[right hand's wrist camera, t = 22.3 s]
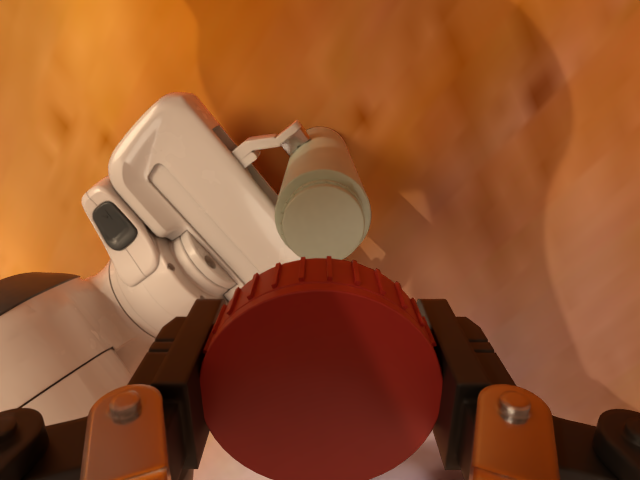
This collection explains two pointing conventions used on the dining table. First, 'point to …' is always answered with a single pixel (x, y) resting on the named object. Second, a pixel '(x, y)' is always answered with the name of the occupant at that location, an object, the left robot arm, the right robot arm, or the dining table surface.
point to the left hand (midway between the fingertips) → (330, 163)
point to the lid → (320, 373)
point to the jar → (322, 199)
